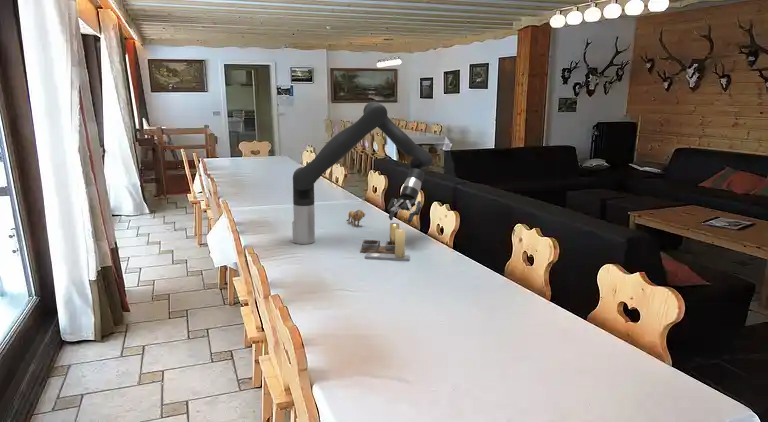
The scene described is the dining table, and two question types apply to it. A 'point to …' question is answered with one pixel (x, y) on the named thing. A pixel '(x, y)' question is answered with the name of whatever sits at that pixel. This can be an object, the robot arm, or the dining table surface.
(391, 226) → the brass pin
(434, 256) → the dining table surface
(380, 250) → the double bowl tray
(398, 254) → the plate
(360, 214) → the lion figurine
